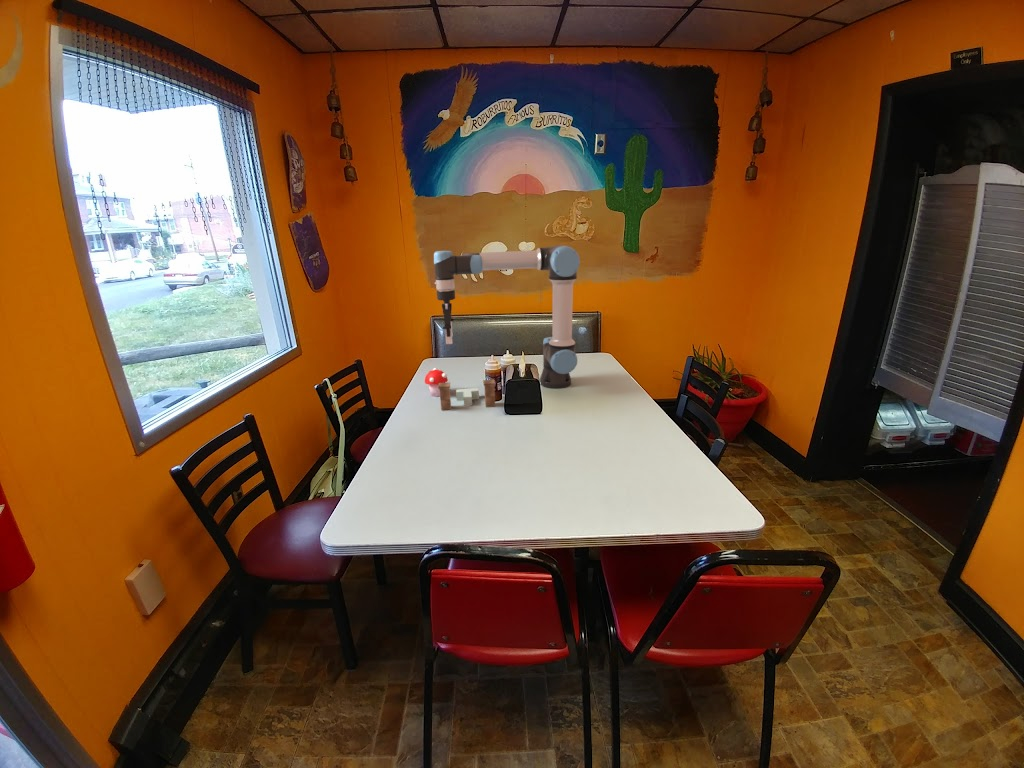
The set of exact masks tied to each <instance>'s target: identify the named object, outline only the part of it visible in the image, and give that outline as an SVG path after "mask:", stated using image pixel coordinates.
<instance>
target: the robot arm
mask: <svg viewBox="0 0 1024 768" xmlns="http://www.w3.org/2000/svg"><path fill="white" fill-rule="evenodd" d="M580 259H581V258H580V256H579V253H578V252H577V251H576V250H575V249H574V248H573V247H571V246H569V245H562V244H557V245H552V246H547V247H537V249H536V250H520V251H519V250H514V251H511V250H510V251H492V252H491V251H490V252H464V253H463V254H461V255H454V254H453V251H451V250H436V251H434V253H433V266H434V276H435V282H434V285H435V286H436V288H435V289H436V290H437V291H436V299H437V301H443V303H442V304H441V309H442V315H443V321H444V326H442V328H443V330H444V337H445V345H453V337H454V335H453V321H454V318H452V308H453V307H452V306H453V305H452V303H451V301H453V300H455V299H456V291H455V288H456V287H455V286H456V285H455V275H457V276H458V275H480V274H482V273H483V271H499V270H501V271H502V270H522V269H523V270H524V269H537V270H538V271H547V272H548V281H550V282H551V284H552V317H551V318H552V324H551V325H552V327H551V329H552V331H551V332H552V335H551V336H548V337H545V338H543V340H542V341H543V343H542V348H543V349H542V350H543V352H542V355H543V359H542V360H543V362H542V363H543V365H542V366H543V367H542V371H541V375H540V378H539V383H540V382H541V384H540V385H541V386H542V387H545V388H549V389H562V388H567V387H569V386H571V384H572V377H571V374H570V373H572V372H573V371H574V370H575V369H576V367H577V365H578V357H577V354H576V341H575V340H574V339H573V304H574V303H573V301H574V299H573V297H574V296H573V295H574V291H573V290H574V283H575V282H576V281H577V279H578V270H579V268H580V264H581V260H580Z"/></svg>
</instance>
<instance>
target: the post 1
mask: <svg viewBox="0 0 1024 768" xmlns="http://www.w3.org/2000/svg"><path fill="white" fill-rule="evenodd" d="M450 388H451V382H449V381H448V382H446V383H439V385H438V389H440V396H439V397H440V399H439V400H440V409H441V411H451V410H452V402H451V389H450Z"/></svg>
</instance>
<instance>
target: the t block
mask: <svg viewBox="0 0 1024 768" xmlns="http://www.w3.org/2000/svg"><path fill="white" fill-rule="evenodd" d="M455 394H456V395H455V397H456V401H463V405H464V407H469V406H470V407H471V406H473V400H479V399H480V395H479V394H480V393H479V388H478V387H474V388H462V389H461V388H460V389H455Z"/></svg>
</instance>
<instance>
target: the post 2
mask: <svg viewBox="0 0 1024 768" xmlns="http://www.w3.org/2000/svg"><path fill="white" fill-rule="evenodd" d="M482 380H483V381H482V383H483V386H484V402H485V408H492V407H493V408H494V407H496V395H495V393H496V392H495V385H496V382H495V379H482Z"/></svg>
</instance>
